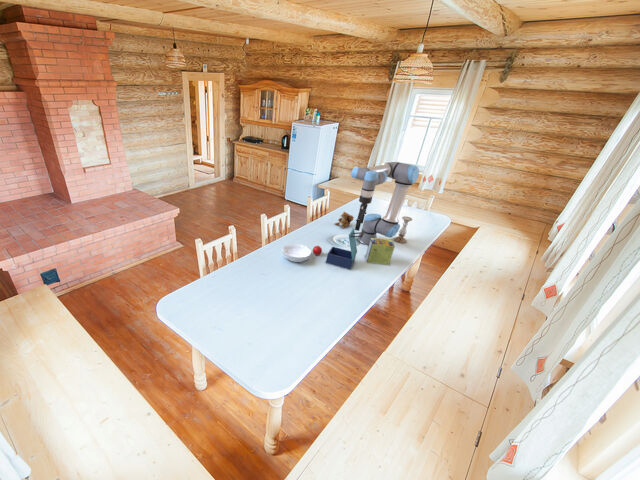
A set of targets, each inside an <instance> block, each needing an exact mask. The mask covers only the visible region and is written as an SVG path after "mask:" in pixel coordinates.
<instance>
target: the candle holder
mask: <svg viewBox="0 0 640 480" xmlns="http://www.w3.org/2000/svg"><path fill="white" fill-rule="evenodd" d="M401 220H403V222H402V227H400V228H399V230H398V236H396V237H394V241H395V242H396V243H398V244H399V243H400V244H405V243H406V241H407V240H406V238H405V236H406V234H407V226H408V225H409V222H412V221H413V218H412V217H410V216H405V215H404V216H402V217H401Z"/></svg>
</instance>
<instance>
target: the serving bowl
mask: <svg viewBox="0 0 640 480" xmlns="http://www.w3.org/2000/svg"><path fill="white" fill-rule="evenodd" d="M281 251H282V255H283V257H284V258H285V259H287V260H288V261H291V262H294V263H301V262H305V261H307V260H309V258H310V257H311V255H312V251H311V249H310V248H309V247H307V246H306V245H303V244H300V243H289V244H286V245H283V247H282V250H281Z"/></svg>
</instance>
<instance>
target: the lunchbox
mask: <svg viewBox="0 0 640 480" xmlns="http://www.w3.org/2000/svg"><path fill="white" fill-rule="evenodd" d="M356 256H357V254H356V255H355V257H354V259H353V260H352V255H351V250H348V249H344V248H339V247H335V246H331V248H330V249H329V250H328V252H327V254H326V261H325V264H329V265H333V266H335V267H340V268H341V269H342V268H343V269H347V270H351V269H352V267H353V265H354V263H355V261H356Z"/></svg>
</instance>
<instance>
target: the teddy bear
mask: <svg viewBox="0 0 640 480" xmlns="http://www.w3.org/2000/svg"><path fill="white" fill-rule="evenodd" d="M339 217H340V218H338V219H337V221H338V222H336V223H335V225H336V226H340V227H341V228H342V229H346V228H347V227H348V226H349V225H350V224H351V223H352V222H353V221H354V219H355V217H354V216H353V215H351V214H350V213H347V212H346V211H343V212H342V214H341V215H339Z"/></svg>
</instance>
